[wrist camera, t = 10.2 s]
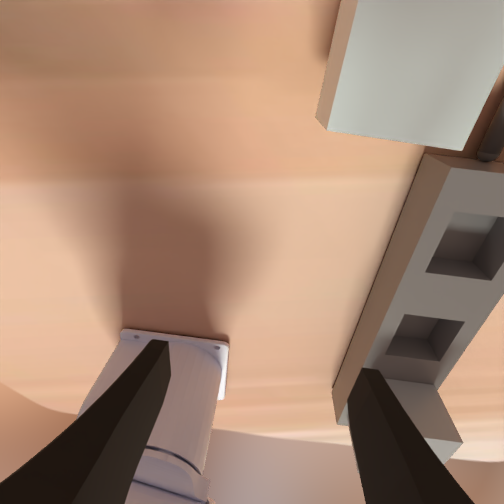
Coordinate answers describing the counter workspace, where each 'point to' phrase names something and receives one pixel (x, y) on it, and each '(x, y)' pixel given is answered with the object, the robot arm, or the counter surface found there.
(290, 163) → the counter surface
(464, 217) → the power strip
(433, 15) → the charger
